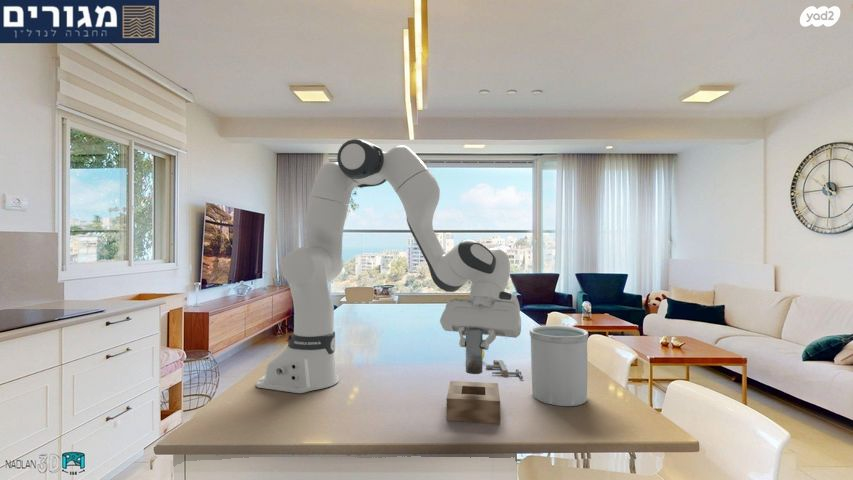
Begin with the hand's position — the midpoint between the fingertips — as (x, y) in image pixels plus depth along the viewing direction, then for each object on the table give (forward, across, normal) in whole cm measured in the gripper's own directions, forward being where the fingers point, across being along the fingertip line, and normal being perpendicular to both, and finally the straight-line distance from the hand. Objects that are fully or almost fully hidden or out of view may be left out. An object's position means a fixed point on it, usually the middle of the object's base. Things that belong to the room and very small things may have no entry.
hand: (473, 347), depth 97 cm
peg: (+4, 0, +5) cm, 6 cm away
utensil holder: (-3, +17, +25) cm, 30 cm away
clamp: (-12, -2, +35) cm, 38 cm away
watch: (-18, -14, +40) cm, 46 cm away
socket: (+10, 0, +11) cm, 15 cm away
